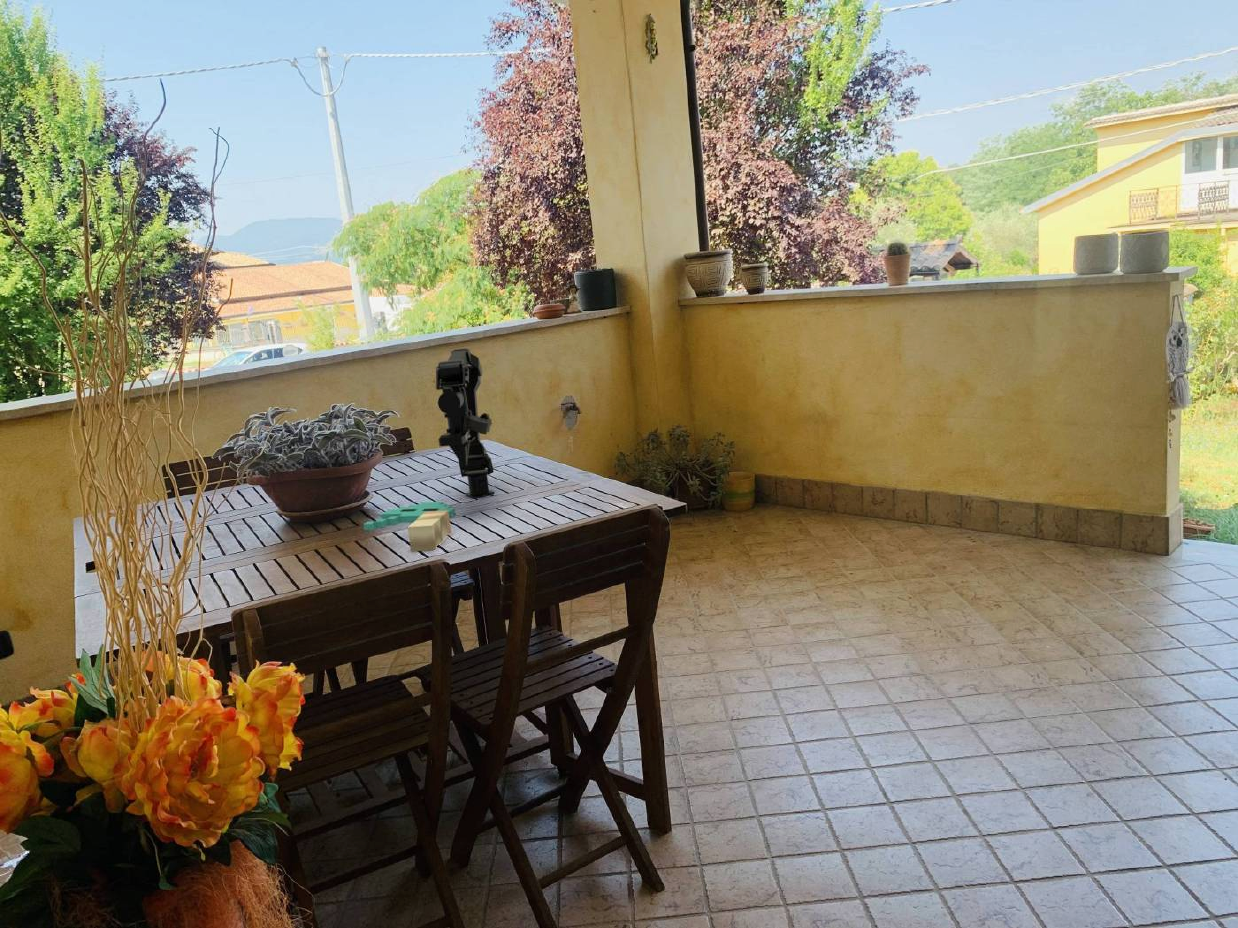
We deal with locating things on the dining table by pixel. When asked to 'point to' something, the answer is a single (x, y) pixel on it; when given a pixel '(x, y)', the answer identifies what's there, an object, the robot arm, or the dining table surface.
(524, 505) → the dining table surface
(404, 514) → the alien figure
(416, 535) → the maple block
